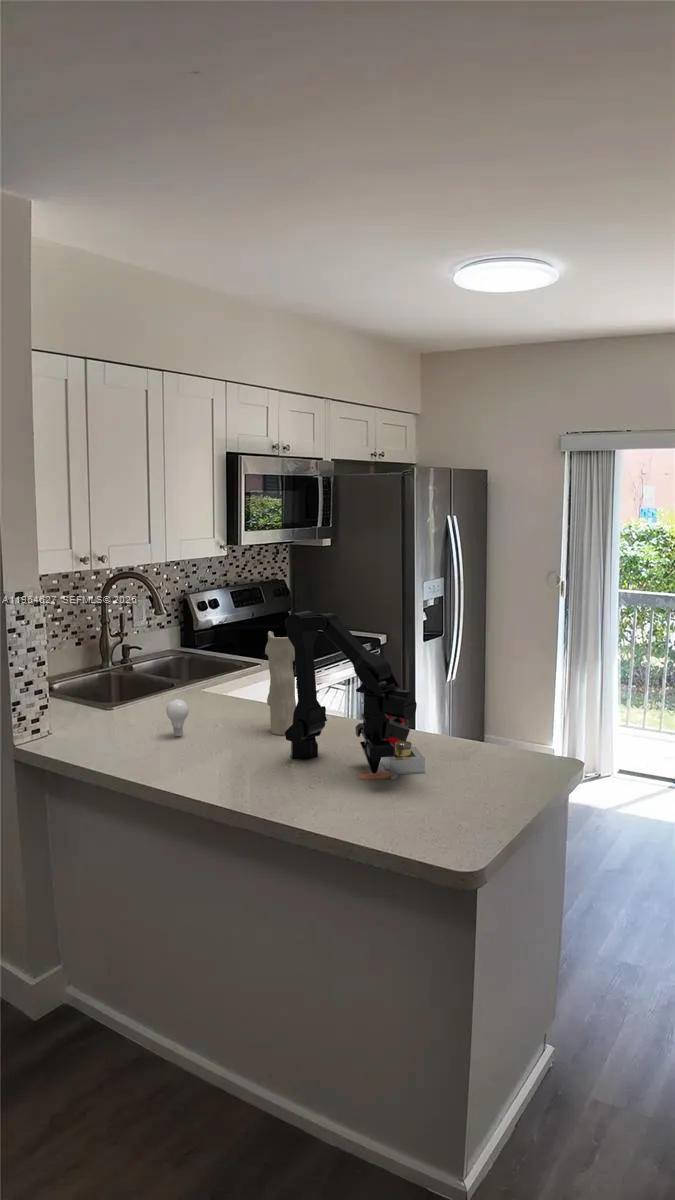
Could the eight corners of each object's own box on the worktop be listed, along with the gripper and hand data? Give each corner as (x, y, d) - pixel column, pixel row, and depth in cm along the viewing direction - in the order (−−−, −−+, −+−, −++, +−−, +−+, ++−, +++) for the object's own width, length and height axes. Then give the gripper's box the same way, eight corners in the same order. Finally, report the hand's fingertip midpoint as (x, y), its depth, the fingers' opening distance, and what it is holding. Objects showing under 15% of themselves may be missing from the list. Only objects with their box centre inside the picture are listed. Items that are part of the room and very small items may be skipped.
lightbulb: (162, 738, 236) (161, 701, 235) (174, 732, 242) (173, 695, 241) (181, 741, 234) (180, 703, 232) (193, 734, 240) (192, 698, 238)
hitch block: (389, 777, 206) (389, 760, 206) (381, 764, 215) (381, 748, 214) (424, 775, 208) (424, 758, 207) (415, 763, 217) (415, 746, 216)
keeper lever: (393, 774, 208) (393, 769, 208) (396, 780, 204) (396, 774, 204) (357, 777, 206) (357, 772, 206) (360, 783, 203) (360, 777, 203)
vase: (262, 733, 241) (261, 632, 237) (277, 725, 249) (277, 627, 244) (287, 738, 237) (286, 635, 233) (302, 730, 245) (302, 630, 240)
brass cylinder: (399, 773, 209) (400, 746, 208) (390, 767, 212) (392, 741, 211) (412, 771, 211) (414, 744, 210) (404, 766, 214) (405, 739, 213)
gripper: (416, 721, 195) (415, 785, 197) (398, 700, 213) (397, 758, 215) (370, 723, 193) (369, 787, 195) (355, 701, 211) (354, 760, 214)
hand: (374, 772), depth 205 cm, fingers closed
